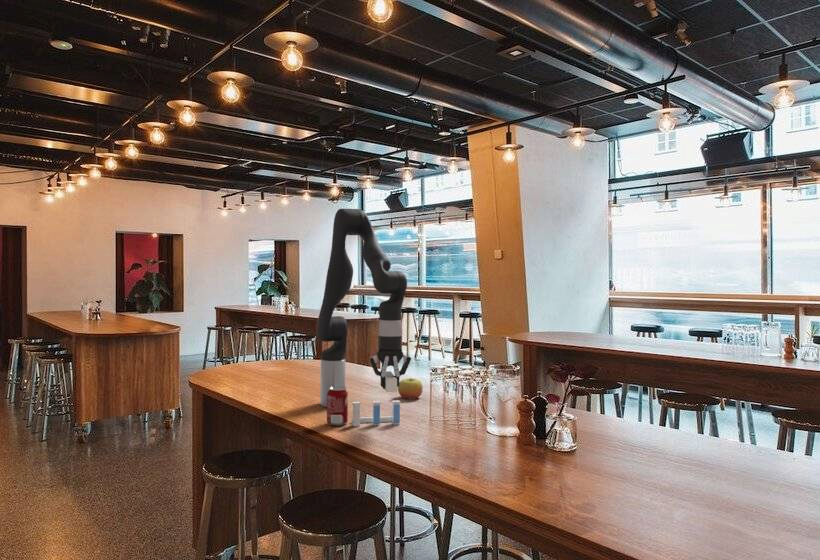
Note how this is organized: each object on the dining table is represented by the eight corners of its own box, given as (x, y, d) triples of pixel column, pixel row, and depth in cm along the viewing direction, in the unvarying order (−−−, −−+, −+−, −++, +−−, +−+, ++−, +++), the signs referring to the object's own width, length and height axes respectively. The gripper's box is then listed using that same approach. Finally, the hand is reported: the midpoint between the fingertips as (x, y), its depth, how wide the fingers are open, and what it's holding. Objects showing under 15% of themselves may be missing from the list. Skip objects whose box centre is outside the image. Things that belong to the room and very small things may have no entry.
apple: (408, 402, 218) (409, 381, 218) (392, 397, 225) (393, 377, 225) (427, 398, 224) (427, 378, 224) (411, 394, 232) (411, 374, 231)
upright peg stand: (351, 422, 188) (351, 399, 188) (397, 420, 191) (397, 398, 191) (352, 426, 183) (353, 403, 183) (400, 424, 186) (400, 401, 186)
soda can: (343, 427, 182) (344, 390, 182) (323, 426, 184) (324, 389, 183) (350, 421, 189) (350, 386, 189) (330, 420, 190) (331, 385, 190)
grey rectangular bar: (381, 383, 187) (381, 371, 187) (390, 383, 188) (390, 371, 188) (386, 392, 175) (386, 379, 174) (396, 391, 175) (397, 378, 175)
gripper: (409, 332, 183) (409, 385, 184) (366, 333, 181) (366, 386, 181) (414, 335, 176) (413, 390, 176) (369, 335, 174) (369, 391, 174)
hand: (389, 388), depth 179 cm, fingers closed on grey rectangular bar, 3 cm apart
